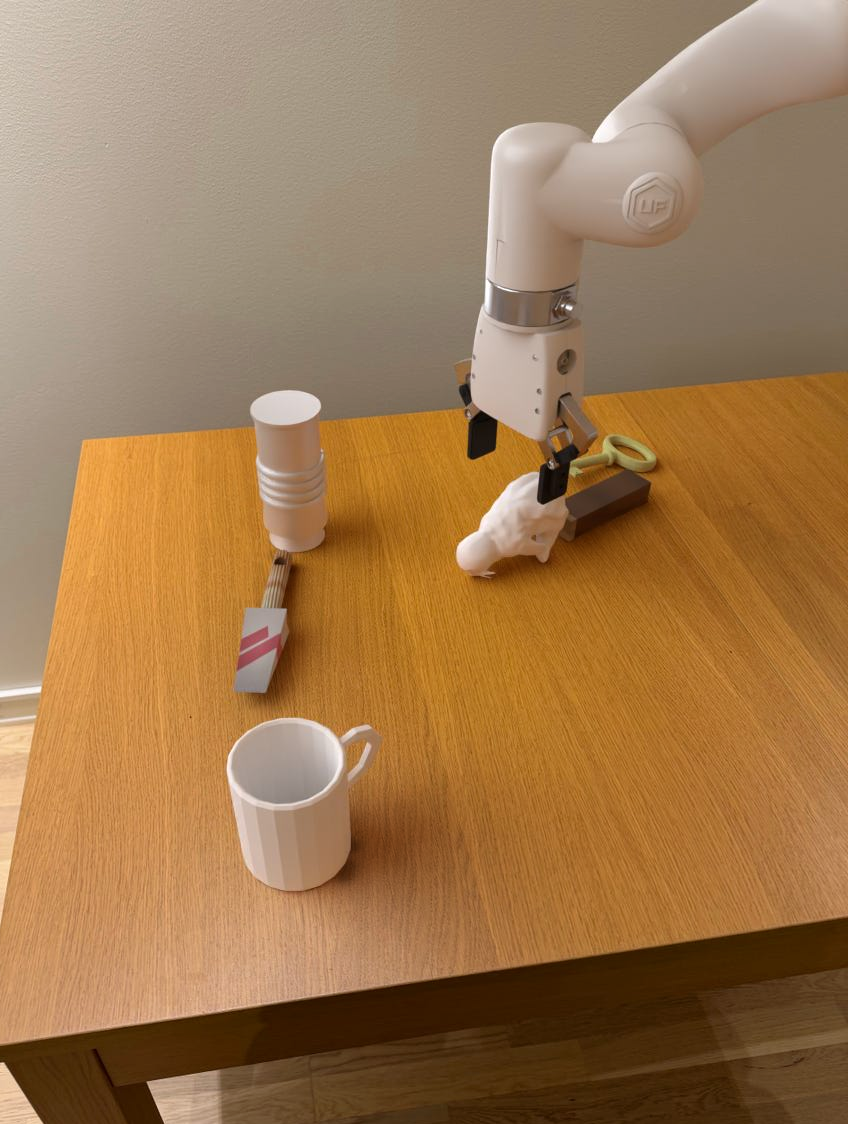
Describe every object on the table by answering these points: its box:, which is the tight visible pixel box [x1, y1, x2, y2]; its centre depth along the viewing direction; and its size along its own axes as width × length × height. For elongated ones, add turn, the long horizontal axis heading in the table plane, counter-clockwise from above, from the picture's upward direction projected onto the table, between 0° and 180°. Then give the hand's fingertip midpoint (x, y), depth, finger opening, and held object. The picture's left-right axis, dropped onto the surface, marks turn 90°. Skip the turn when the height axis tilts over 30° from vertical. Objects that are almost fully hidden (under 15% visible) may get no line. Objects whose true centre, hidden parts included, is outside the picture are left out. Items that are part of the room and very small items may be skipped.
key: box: [569, 433, 657, 478], centre depth 105 cm, size 7×12×2 cm, turn 136°
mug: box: [225, 717, 384, 892], centre depth 66 cm, size 8×12×10 cm
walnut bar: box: [558, 468, 652, 543], centre depth 98 cm, size 12×4×3 cm, turn 126°
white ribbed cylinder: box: [249, 389, 329, 553], centre depth 92 cm, size 7×7×15 cm
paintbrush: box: [233, 549, 293, 694], centre depth 86 cm, size 4×3×20 cm
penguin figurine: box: [455, 471, 569, 579], centre depth 91 cm, size 6×8×12 cm
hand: (515, 475), depth 87 cm, fingers open, 9 cm apart
